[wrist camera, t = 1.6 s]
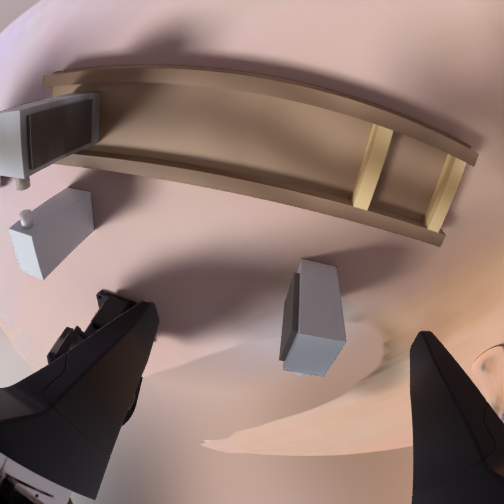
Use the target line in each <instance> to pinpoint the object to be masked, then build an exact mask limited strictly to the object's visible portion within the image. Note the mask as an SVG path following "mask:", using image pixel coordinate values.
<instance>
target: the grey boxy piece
mask: <svg viewBox="0 0 504 504" xmlns="http://www.w3.org/2000/svg"><path fill="white" fill-rule="evenodd" d="M345 343H346V335H345V327H344V317H343V309H342V302H341V295H340V288H339V281H338V274H337V268H336V266H331V265H327V264H323V263H318V262H314V261H310V260H305V259H301V261H300V264H299V267H298V270H297V273H294V276H293V279H292V282H291V285H290V288H289V291H288V294H287V297H286V300H285V304H284V315H283V326H282V336H281V347H280V357H279V360H281V361H284V362H283V370H286V371H291V372H294V373H295V374H296V375H298V376H303V375H305V374H309V375H316V376H323V377H324V376H325V374H326V373H327V371H328V370H329V368H330V366H331V365H332V364H333V362H334V361H335V359H336V358H337V356H338V354H339V353H340V351H341V350H342V348H343V346H344V345H345Z"/></svg>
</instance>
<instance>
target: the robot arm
mask: <svg viewBox="0 0 504 504" xmlns="http://www.w3.org/2000/svg"><path fill="white" fill-rule="evenodd" d="M96 296H97V300H98V305H99V310H98V312H97V313H96V314H95V316H94V317H93V319H92V320H91V323H90V324H89V326H88V327H87V329H86V330H85V332H83V331H82V330H81V329H80V328H79V327H78V326H76V327H75V329H73V328H69V327H66V329H65V330H64V331H63V333H62V334H61V336H60V337H59V338H58V340H57V341H56V343H55V344H54V346H53V347H52V349H51V350H50V352H49V353H48V355H47V360H48V365H47V366H45V367H44V368H42V369H40V370H39V371H37V372H35V373H34V374H32V375H30V376H28V377H26V378H25V379H23V380H21V381H20V382H18V383H16V384H14V385H12V386H10V387H5V388H0V504H73V503H72V501H71V498H70V495H71V493H72V491H73V492H76V493H78V494H81V495H83V496H86V497H88V498H91V499H93V500H95V499H96V497H97V494H98V491H99V488H100V485H101V482H102V479H103V476H104V473H105V470H106V468H107V464H108V462H109V459H110V455H111V453H112V450H113V447H114V445H115V442H116V439H117V437H118V434H119V431H120V429H121V426H123V425H124V424H125V423H126V422H127V421H128V420H129V419H130V417H131V416H132V414H133V412H134V409H135V407H136V403H137V399H138V395H139V391H140V386H141V382H142V379H143V377H142V374H143V371H144V369H145V366H146V364H147V361H148V358H149V355H150V352H151V348H152V345H153V342H154V338H155V335H156V332H157V329H158V325H159V316H158V313H157V310H156V306H155V304H154V303H153V302H151V301H146V300H143V301H141V302H139V303H138V304H137V303H134V302H131V301H128V300H125V299H122V298H119V297H115V296H112V295H109V294H106V293H103V292H98V293H97V295H96ZM410 396H411V409H412V425H413V493H412V494H413V496H412V504H504V423H503V421H502V420H501V419H500V418H499V416H498V415H497V414H496V412H495V411H494V410H493V408H492V407H491V406H490V404H489V403H488V402H486V399H485V397H484V396H483V395H482V393H481V392H480V391H479V389H478V388H477V387H476V386H475V384H474V383H473V382H472V380H471V379H470V378H469V377H468V375H467V374H466V373H465V371H464V370H463V369H462V368H461V366H460V365H459V364H458V363H457V361H456V360H455V359H454V358H453V357H452V355H451V354H450V353H449V352H448V351H447V349H446V348H445V347H444V346H443V345H442V343H441V342H440V341H439V340H438V339H437V337H436V336H435V335H434V334H433V333H432V332H431V331H420V332H419V333H418V335H417V337H416V338H415V340H414V342H413V344H412V345H411V348H410Z"/></svg>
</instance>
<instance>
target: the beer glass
mask: <svg viewBox="0 0 504 504" xmlns="http://www.w3.org/2000/svg"><path fill="white" fill-rule="evenodd" d="M471 373H472V375H473V376H474V378H475V379H476V381H477V383H478V385H479V388H480V391H481V393H482V395H483V396H484V397H485V399H486V402H488V403H489V404H490V406H491V407H492V408H493V410H494V411H495V412H496V414H497V415H498V416H499V418H500V419H501V420H502V421H503V423H504V346H496V347H493V348H491V349H489V350H487V351H486V352H484V353H483V354H481V355H480V356H479V357H478V358H477V359H476V360H475V361H474V363H473V364H472V366H471Z"/></svg>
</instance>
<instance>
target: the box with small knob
mask: <svg viewBox="0 0 504 504" xmlns="http://www.w3.org/2000/svg"><path fill="white" fill-rule="evenodd" d="M19 215H20V220H19V221H18V222H17V223H15V224H14V225H13V226H11V227H10V228H9V232H10V236H11V240H12V243H13V247H14V250H15V254H16V257H17V260H18V264H19V267H20V270H21V271H23V272H25V273H28V274H30V275H32V276H35V277H37V278H39V279H42V280H44V279H45V278H46V277H47V276H48V275H49V274H50V273H51V272H52V271H53V270H54V269H55V268H56V267H57V266H58V265H59V264H60V263H61V262H62V261H63V260H64V259H65V258H66V257H67V256H68V255H69V254H70V253H71V252H72V251H73V250H74V249H75V248H76V247H77V246H78V245H79V244H80V243H81V242H82V241H83V240H84V239H85V238H86V237H88V236H89V235H90V234H91V233H92V232H93V231H94V222H93V213H92V201H91V192H90V191H84V190H79V189H73V188H66V189H64V190H63V191H61V192H60V193H58V194H56V195H55V196H53V197H52V198H50V199H49V200H47V201H46V202H44V203H43V204H42V205H40V206H39V207H37V208H36V209H34V210H33V211H32V212H31V210H24V211H22V212H20V214H19Z"/></svg>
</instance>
